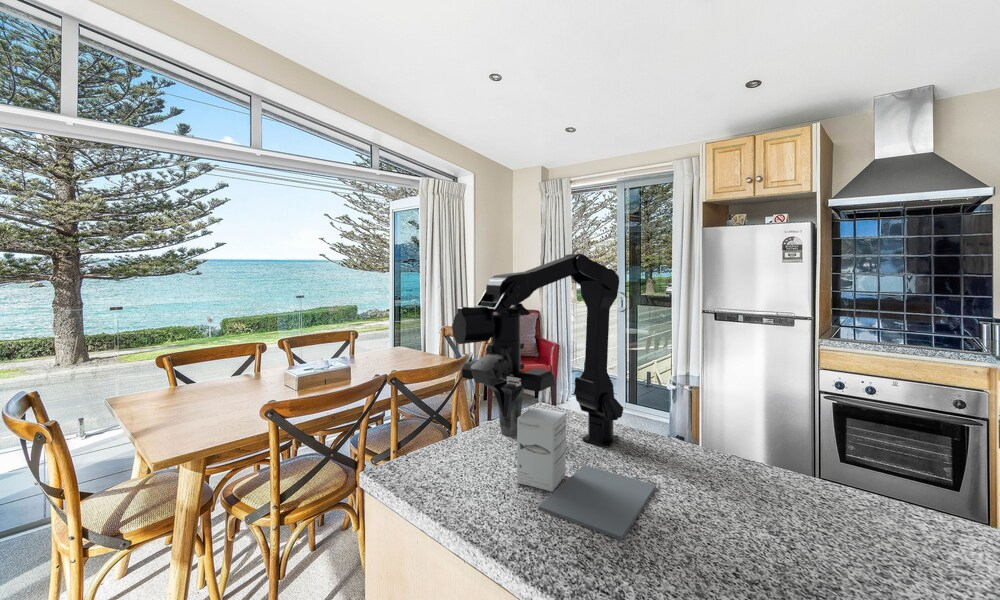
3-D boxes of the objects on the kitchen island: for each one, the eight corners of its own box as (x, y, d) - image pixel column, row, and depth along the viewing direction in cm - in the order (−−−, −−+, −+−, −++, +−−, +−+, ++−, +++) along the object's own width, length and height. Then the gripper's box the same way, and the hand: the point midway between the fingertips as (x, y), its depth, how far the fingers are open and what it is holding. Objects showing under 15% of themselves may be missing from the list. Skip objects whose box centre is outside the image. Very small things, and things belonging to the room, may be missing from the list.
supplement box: (515, 484, 77) (515, 417, 76) (531, 467, 84) (531, 405, 83) (553, 493, 74) (553, 424, 73) (566, 475, 80) (567, 411, 80)
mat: (583, 467, 83) (583, 464, 83) (655, 488, 75) (655, 484, 75) (538, 509, 69) (538, 506, 69) (621, 540, 61) (621, 536, 61)
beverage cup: (530, 430, 103) (530, 350, 102) (515, 440, 97) (515, 355, 96) (505, 424, 107) (504, 347, 106) (489, 434, 101) (488, 352, 100)
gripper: (442, 340, 81) (443, 419, 82) (523, 350, 70) (524, 441, 71) (478, 333, 90) (479, 404, 91) (555, 341, 79) (555, 421, 80)
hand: (506, 417), depth 83 cm, fingers closed
